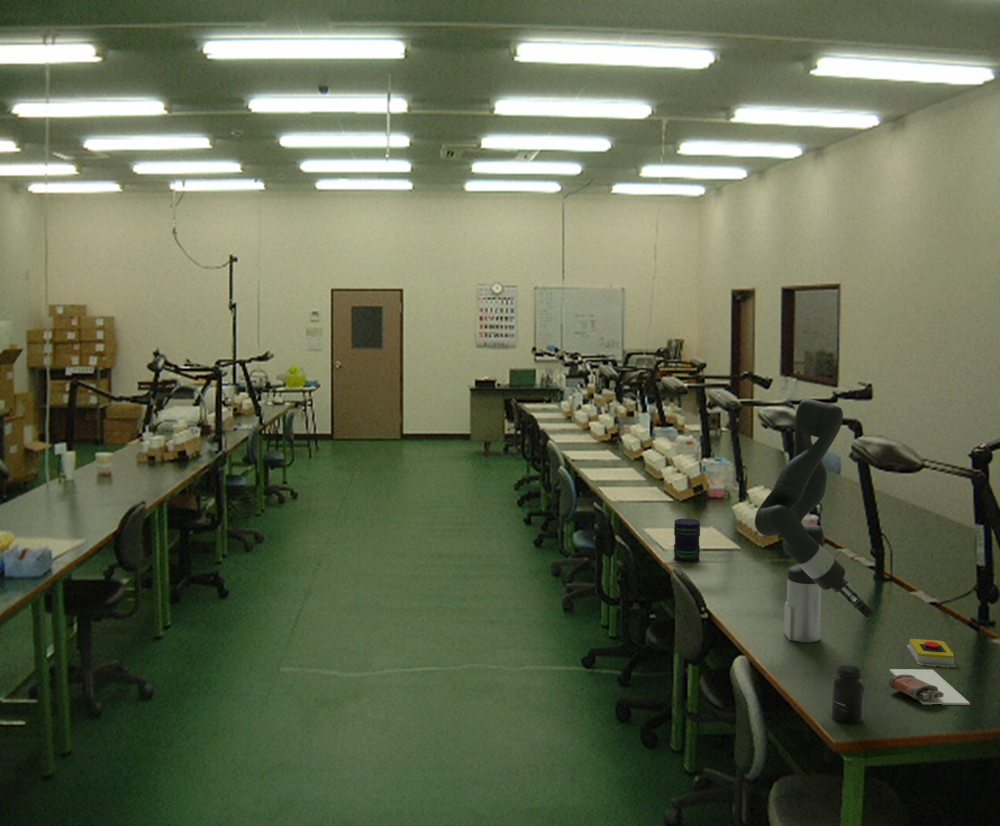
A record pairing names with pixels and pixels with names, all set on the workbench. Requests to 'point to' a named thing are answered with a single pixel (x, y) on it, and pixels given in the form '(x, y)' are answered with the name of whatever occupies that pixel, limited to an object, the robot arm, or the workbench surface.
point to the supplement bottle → (847, 695)
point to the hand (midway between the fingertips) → (869, 614)
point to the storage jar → (686, 540)
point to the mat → (934, 679)
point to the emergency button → (931, 653)
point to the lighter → (914, 687)
